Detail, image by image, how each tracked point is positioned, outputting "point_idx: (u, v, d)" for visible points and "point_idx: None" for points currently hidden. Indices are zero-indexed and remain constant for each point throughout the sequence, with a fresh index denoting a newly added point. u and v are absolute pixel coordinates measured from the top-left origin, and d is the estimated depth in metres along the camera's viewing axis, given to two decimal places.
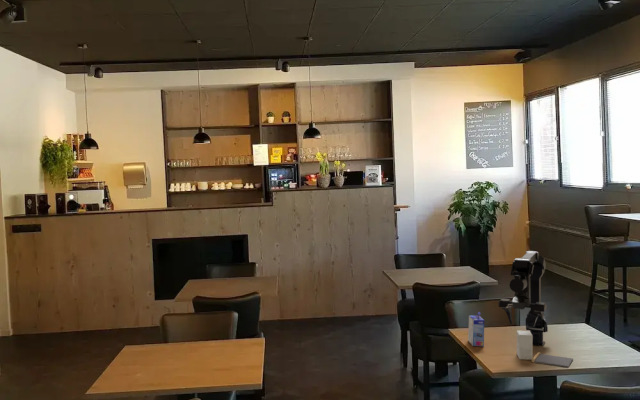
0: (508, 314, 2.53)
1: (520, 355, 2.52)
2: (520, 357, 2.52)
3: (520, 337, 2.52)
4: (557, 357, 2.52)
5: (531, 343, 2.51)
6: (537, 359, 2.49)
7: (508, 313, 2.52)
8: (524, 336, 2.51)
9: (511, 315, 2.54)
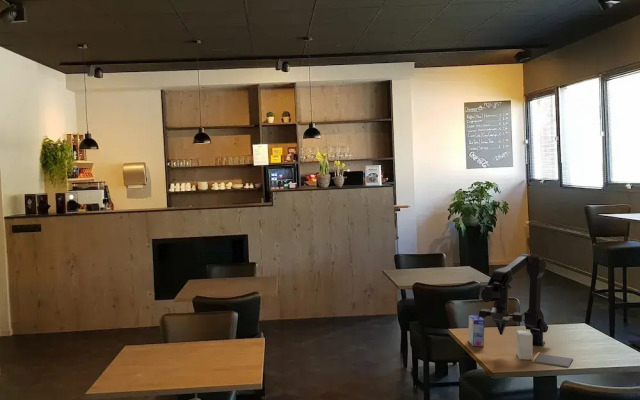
0: (498, 325, 2.59)
1: (520, 355, 2.52)
2: (520, 357, 2.52)
3: (520, 337, 2.52)
4: (557, 357, 2.52)
5: (531, 343, 2.51)
6: (537, 359, 2.49)
7: (498, 324, 2.59)
8: (524, 336, 2.51)
9: None
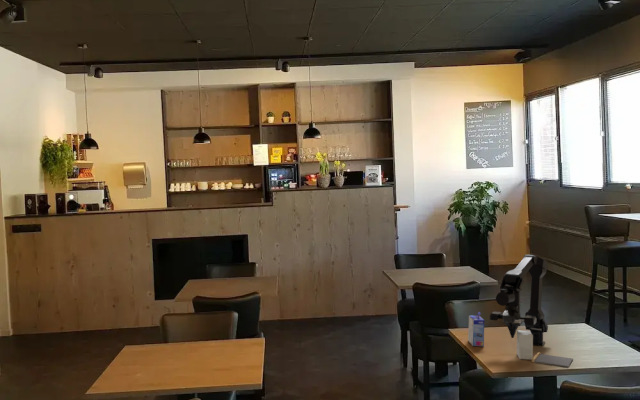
0: (509, 328, 2.57)
1: (520, 355, 2.52)
2: (520, 357, 2.52)
3: (520, 337, 2.51)
4: (557, 357, 2.52)
5: (531, 343, 2.51)
6: (537, 359, 2.49)
7: (509, 327, 2.57)
8: (524, 336, 2.51)
9: (512, 329, 2.58)
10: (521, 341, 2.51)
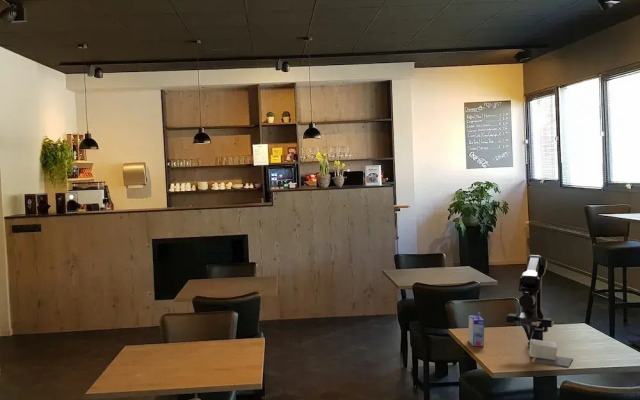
0: (526, 330, 2.53)
1: (534, 345, 2.50)
2: (532, 345, 2.50)
3: (554, 348, 2.48)
4: (557, 357, 2.52)
5: (547, 358, 2.49)
6: (537, 359, 2.49)
7: (526, 329, 2.53)
8: (555, 352, 2.48)
9: (529, 331, 2.55)
10: (549, 348, 2.48)
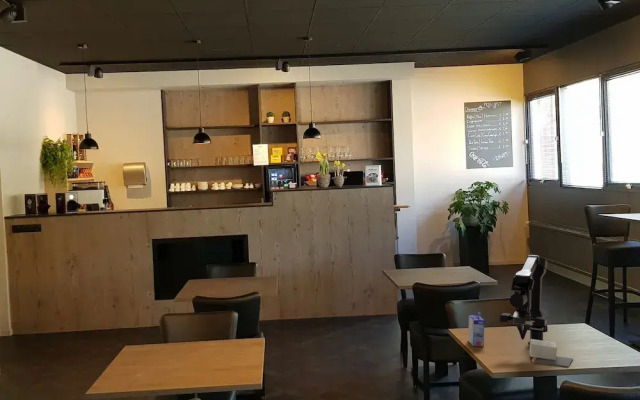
0: (519, 330, 2.55)
1: (534, 345, 2.50)
2: (532, 345, 2.50)
3: (554, 348, 2.48)
4: (557, 357, 2.52)
5: (547, 358, 2.49)
6: (537, 359, 2.49)
7: (519, 329, 2.54)
8: (555, 352, 2.48)
9: (522, 330, 2.56)
10: (549, 348, 2.48)
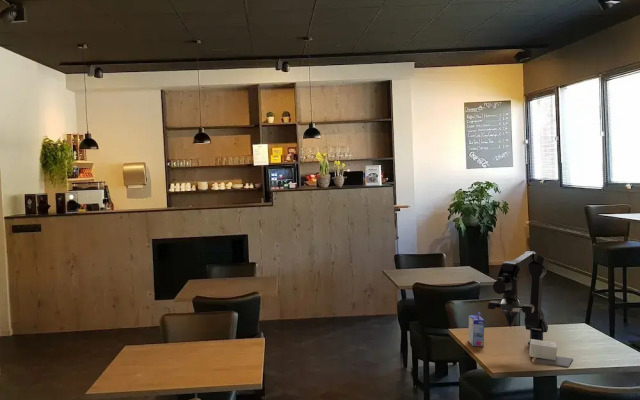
0: (507, 317, 2.57)
1: (534, 345, 2.50)
2: (532, 345, 2.50)
3: (554, 348, 2.48)
4: (557, 357, 2.52)
5: (547, 358, 2.49)
6: (537, 359, 2.49)
7: (507, 316, 2.57)
8: (555, 352, 2.48)
9: (510, 318, 2.59)
10: (549, 348, 2.48)
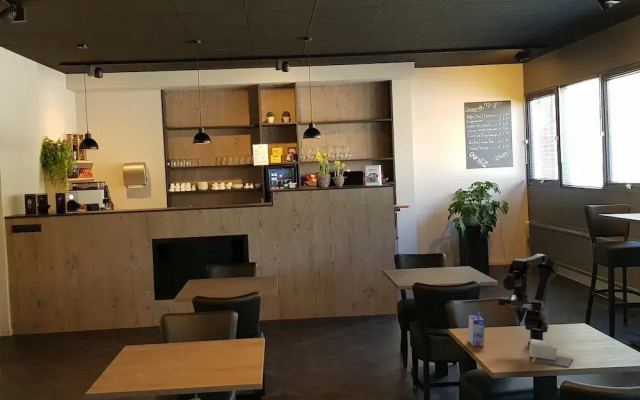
0: (517, 313, 2.65)
1: (534, 345, 2.50)
2: (532, 345, 2.50)
3: (554, 348, 2.48)
4: (557, 357, 2.52)
5: (547, 358, 2.49)
6: (537, 359, 2.49)
7: (517, 312, 2.65)
8: (555, 352, 2.48)
9: (520, 314, 2.66)
10: (549, 348, 2.48)
